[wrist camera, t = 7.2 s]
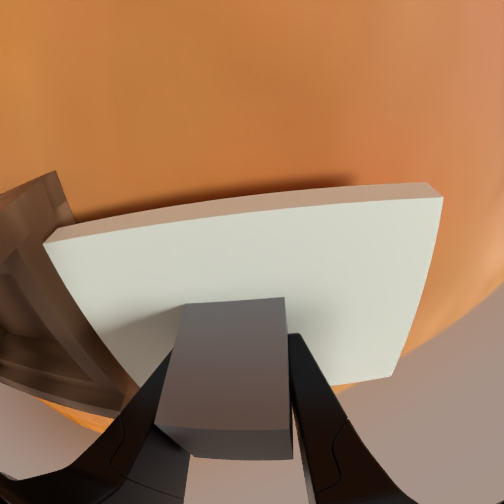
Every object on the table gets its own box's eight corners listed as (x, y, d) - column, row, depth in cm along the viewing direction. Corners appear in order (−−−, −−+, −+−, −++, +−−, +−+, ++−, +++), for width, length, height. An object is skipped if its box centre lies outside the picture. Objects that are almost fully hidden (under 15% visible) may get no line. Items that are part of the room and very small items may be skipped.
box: (20, 342, 18) (-1, 381, 14) (-53, 224, 11) (-90, 261, 7) (151, 358, 16) (132, 422, 12) (55, 170, 9) (-20, 228, 6)
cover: (144, 371, 13) (120, 457, 9) (57, 228, 8) (-26, 332, 4) (386, 358, 12) (408, 455, 8) (427, 182, 7) (535, 304, 3)
